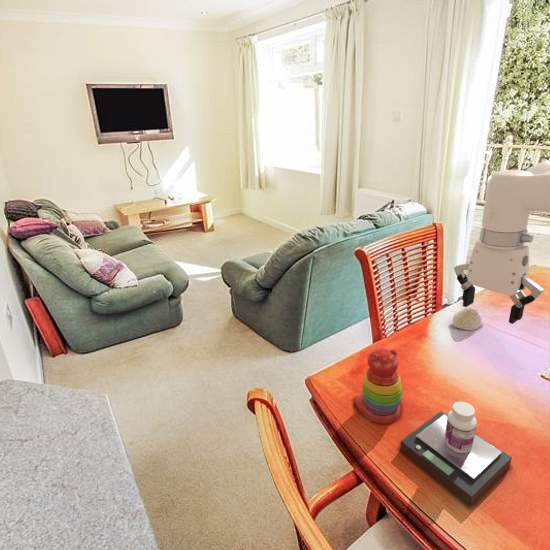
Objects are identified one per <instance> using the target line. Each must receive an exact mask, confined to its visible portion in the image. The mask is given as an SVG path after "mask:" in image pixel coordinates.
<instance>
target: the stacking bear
mask: <svg viewBox="0 0 550 550" xmlns="http://www.w3.org/2000/svg"><path fill="white" fill-rule="evenodd" d="M397 356H398V351H397V350H396V349H394V348H393V349H391V350H390V349H388V348H386V347H380V348H377V349H374V350H373V351H372V352H371V353H369V354H368V355H367V358H366V359H367V365H368V368H367V370H366V373H365V375H364V378H363V381H362V385H361V393H362V394H359V395H357V396H356V398H355V400H354V404H355V407H356V408H357V410H358V411H359V412H360V413H361V414H362V415H363V416H364V417H365V418H366V419H368V420H370V421H372V422H374V423H377V424H383V425H385V424H386V425H387V424H392V423H394V422H396V421H397V420H398V419H399V418H400V416H401V402H402V398H403V385H402V380H401V376H400V374H399V372H397V370H398V367H399V360H398V359H399V358H398V357H397Z"/></svg>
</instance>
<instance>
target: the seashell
mask: <svg viewBox="0 0 550 550" xmlns="http://www.w3.org/2000/svg"><path fill="white" fill-rule="evenodd" d="M482 320H483V319H482V316H481V314H480V313H479V312H478V311H477V309H475V307H472V306H467V307H464V308H463V309H461V310H459V311H457V312H455V313H454V315H453V317H452V327H454V328H457V329H460V330H465V331H473V330H477V329H479V328H480V327H481V326H482V324H483V323H482V322H483V321H482Z"/></svg>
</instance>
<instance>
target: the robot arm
mask: <svg viewBox="0 0 550 550" xmlns="http://www.w3.org/2000/svg"><path fill="white" fill-rule="evenodd" d="M484 196H485V197H484V203H483V210H482V218H481V226H480V233H479V238H477V239H476V241H475V243H474V246H473V249H472V252H471V255H470V259H469V262H466V263H461V264H458V265H456V266H454V267H453V270H454V273H455V276H456V280H457V281H458V283H459V284H460V285H461V286H460V288H461V290H462V300H461V301H462V307H464V308H466V307H470V305H473V303H474V301H475V293H476V287H478V288H481V289H484V290H488V291H490V292H491V291H492V292H494V293H498V294H501V295H505V296H509V297H510V300H511V301H512V302H513V304H512V306H511V307H510V311H509V318H508V323H509V324H510V325H513V324H515V323H516V322H518V321H520V320H522V319H523V315H524V311H525V310H524V309H525V306H526V305H528V304H530V303H531V304H532V303H534V301H536V300H537V299H538V298H539V297H540V296H542V294H543V293H545V288H543V287H542V286H541V285H539V284H538V283H537V282H536V281H534V280H533V279H532V278H530V277H529V272H530V246H529V244H531V243H532V242H533V241H534V235H530V234H529V233H528V232H529V231H528V223H529V217H530V212H537V213H547V214H550V159H547V160H543V161H540V162H539V163H537V164H535V165H533V166H531V167H530V168H529V169H527V170H522V169H503V170H497V171H494V172H492V173H491V174H490V175H489V176H488V178H487V183H486V187H485V195H484ZM465 271H467V274H465ZM525 289H528V290H529V291H530V293H529V295H526V294H525V292H524V290H525Z"/></svg>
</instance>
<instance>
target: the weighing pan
mask: <svg viewBox="0 0 550 550" xmlns="http://www.w3.org/2000/svg"><path fill="white" fill-rule="evenodd" d="M445 414H446V413H444V415H443V416H441V417H440V418H439V419H437V420H436V421H435V422H434V423H432V424H431V425H430V426H428V427H427V428H426V429H424V430H423V431H422V432H420V433H419V434H418V435H416V439H418V440H419V441H420V442H421V443H423V444H424V445H425V446H427V447H428V448H429V449H431V450H432V451H433V452H435V453H436V454H437V455H439V456H440V457H441V458H443V459H444V460H445V461H447V462H448V463H449V464H451V465H452V466H453V467H455V468H456V469H457V470H459V471H460V472H461V473H463V474H464V475H465V476H467V477H468V478H469V479H471V480H472V481H475V480H476V479H477V478H478V477H479V476H480V475H481V474H482V473H483V472H484V471H485V470H486V469H487V468H488V467H489V466H490V465H491V464H492V463H493V462H494V461H496V460H497V459H498V458H499V457H500V456H501V455H502V452H501V451H502V450H501V449H500V450H501V451H500V450H498V449H499V448H498V447H497V448H498V449H497V448H495V447H496V446H495V445H494V446H495V447H494V446H492V445H493V444H492V443H490V442H489V441H487V440H486V439H484V438H483V439H484V440H483V439H481V438H482V437H481V436H480V437H481V438H480V437H478V436H479V435H478V434H477V435H478V436H477V435H475V436H474V441H473V447H472V449H471V450H470V451H469V452H466V453H459V452H456V451H454V450H452V449H450V448H449V447H448V446H447V444H446V442H445V431H446V424H447V416H448V415H447V414H446V415H447V416H446V415H445ZM485 440H486V441H487V442H486V441H485ZM488 442H489V443H490V444H489V443H488ZM491 444H492V445H491Z"/></svg>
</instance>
